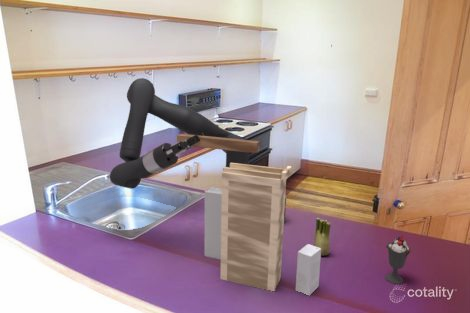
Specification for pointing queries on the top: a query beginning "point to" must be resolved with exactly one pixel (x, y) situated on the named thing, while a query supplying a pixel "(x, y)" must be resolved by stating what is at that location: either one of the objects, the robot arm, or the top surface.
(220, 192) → the grey pedestal
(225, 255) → the birch shelf
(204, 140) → the walnut bar
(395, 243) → the sundae
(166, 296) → the top surface
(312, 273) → the skincare box
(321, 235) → the fennel bulb
